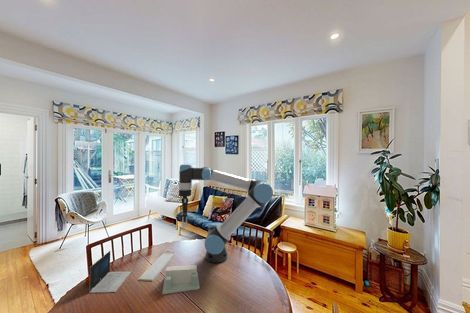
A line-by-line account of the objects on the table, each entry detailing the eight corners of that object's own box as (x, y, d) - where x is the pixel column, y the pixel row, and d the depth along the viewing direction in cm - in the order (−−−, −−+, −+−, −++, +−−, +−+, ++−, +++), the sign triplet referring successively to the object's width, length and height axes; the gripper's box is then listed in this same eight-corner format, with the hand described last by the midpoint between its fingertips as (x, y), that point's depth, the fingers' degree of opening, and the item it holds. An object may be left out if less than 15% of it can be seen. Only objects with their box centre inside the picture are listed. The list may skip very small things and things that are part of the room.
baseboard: (134, 281, 109) (152, 282, 108) (135, 275, 109) (152, 277, 108) (160, 255, 139) (174, 255, 138) (160, 250, 139) (174, 251, 138)
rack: (197, 273, 116) (197, 263, 116) (199, 288, 103) (199, 276, 103) (164, 277, 111) (165, 266, 112) (162, 294, 98) (162, 281, 98)
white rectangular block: (196, 277, 110) (196, 265, 110) (196, 282, 106) (196, 269, 106) (166, 279, 108) (166, 266, 108) (164, 284, 104) (165, 270, 104)
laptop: (115, 293, 99) (116, 266, 99) (88, 294, 98) (89, 267, 98) (131, 272, 116) (132, 250, 117) (109, 273, 116) (109, 250, 116)
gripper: (179, 186, 135) (178, 218, 134) (178, 192, 111) (177, 231, 110) (190, 186, 137) (189, 217, 136) (192, 192, 113) (191, 230, 112)
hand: (184, 223), depth 123 cm, fingers open, 13 cm apart
